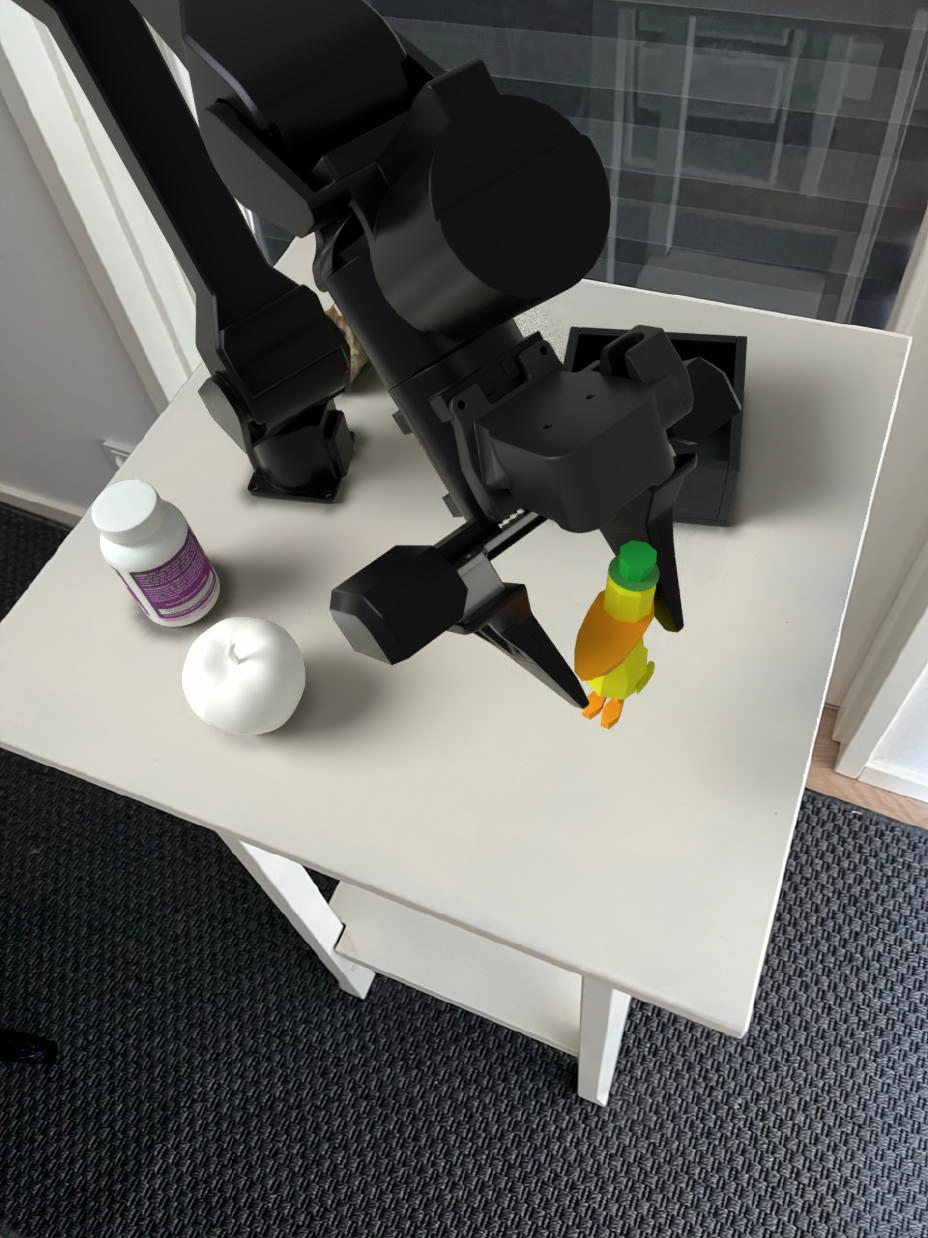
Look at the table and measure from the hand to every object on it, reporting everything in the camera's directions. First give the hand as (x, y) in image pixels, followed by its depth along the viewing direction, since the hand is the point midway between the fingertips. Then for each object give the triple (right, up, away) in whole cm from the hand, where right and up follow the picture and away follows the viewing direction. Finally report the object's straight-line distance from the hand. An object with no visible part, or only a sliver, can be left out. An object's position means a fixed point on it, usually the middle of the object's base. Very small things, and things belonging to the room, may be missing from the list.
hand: (629, 667), depth 41 cm
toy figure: (0, -3, +6) cm, 7 cm away
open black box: (+5, +14, +24) cm, 28 cm away
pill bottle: (-26, +4, +21) cm, 34 cm away
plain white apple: (-20, -3, +16) cm, 26 cm away
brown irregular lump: (-15, +22, +32) cm, 41 cm away
